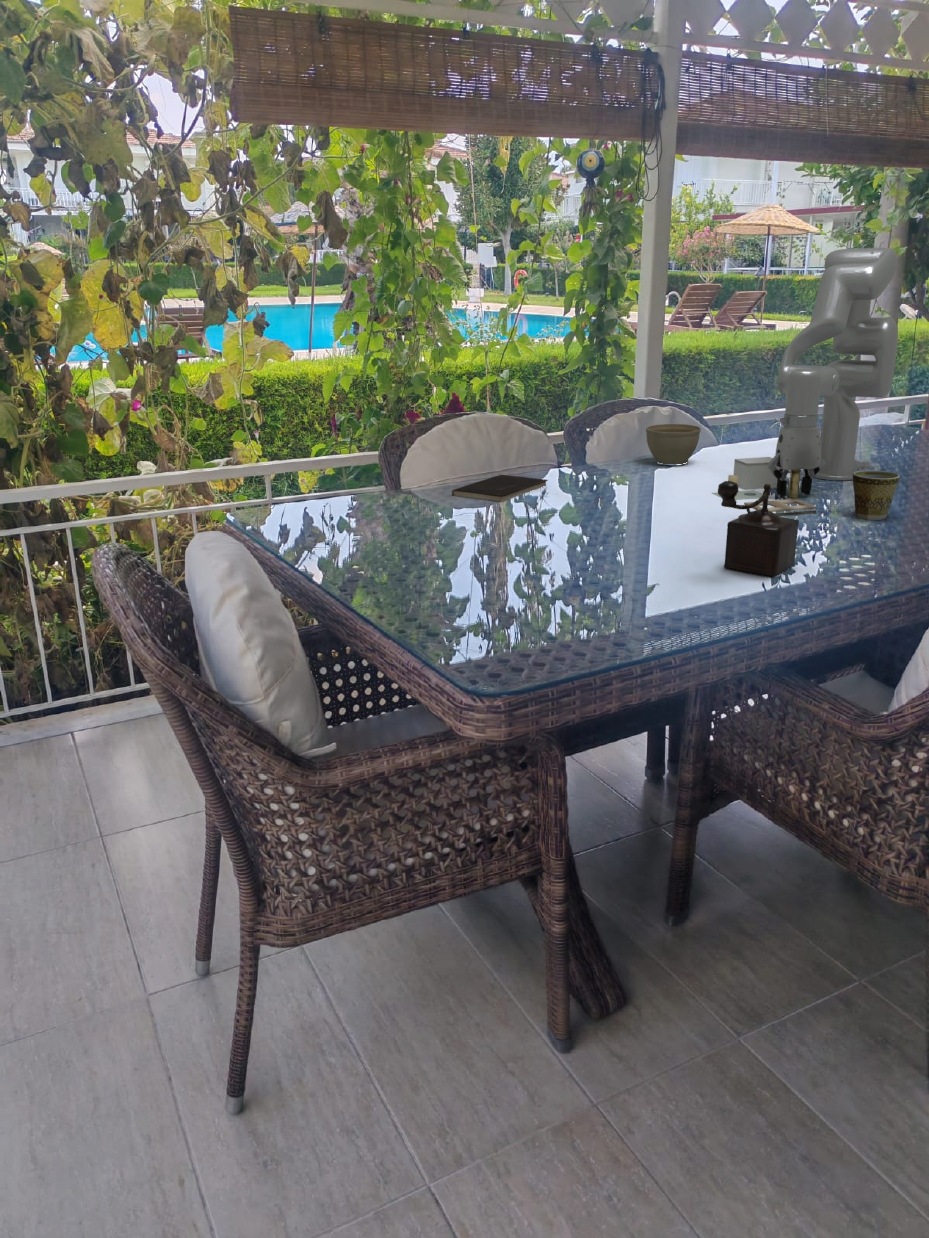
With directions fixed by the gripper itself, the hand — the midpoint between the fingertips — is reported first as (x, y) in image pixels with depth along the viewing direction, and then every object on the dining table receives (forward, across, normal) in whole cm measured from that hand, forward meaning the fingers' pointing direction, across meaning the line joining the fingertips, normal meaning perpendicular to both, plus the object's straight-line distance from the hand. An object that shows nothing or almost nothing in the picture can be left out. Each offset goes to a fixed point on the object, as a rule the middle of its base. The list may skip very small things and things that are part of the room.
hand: (793, 493), depth 235 cm
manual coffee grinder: (+2, -37, -50) cm, 62 cm away
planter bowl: (+2, -8, +57) cm, 58 cm away
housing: (+2, -2, +15) cm, 15 cm away
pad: (+2, -11, +6) cm, 13 cm away
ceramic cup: (+2, +10, -17) cm, 20 cm away
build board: (+2, -8, -8) cm, 11 cm away
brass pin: (+2, 0, 0) cm, 2 cm away
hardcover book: (+3, -67, +35) cm, 75 cm away
